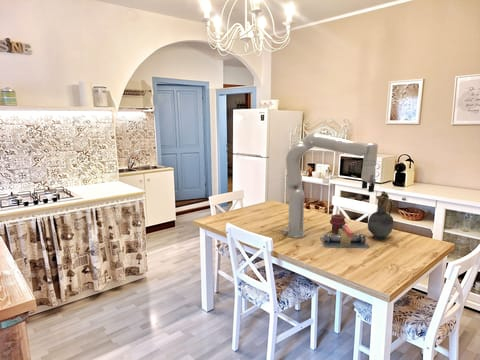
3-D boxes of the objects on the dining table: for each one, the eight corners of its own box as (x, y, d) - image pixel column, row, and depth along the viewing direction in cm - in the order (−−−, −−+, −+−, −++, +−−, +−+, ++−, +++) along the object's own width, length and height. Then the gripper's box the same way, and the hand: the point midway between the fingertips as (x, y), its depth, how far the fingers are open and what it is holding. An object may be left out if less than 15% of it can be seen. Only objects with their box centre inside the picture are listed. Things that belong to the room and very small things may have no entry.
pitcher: (364, 237, 204) (367, 192, 199) (381, 231, 215) (385, 188, 209) (380, 243, 195) (384, 195, 190) (397, 236, 206) (401, 191, 200)
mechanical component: (344, 230, 217) (345, 235, 208) (328, 229, 219) (329, 234, 210) (345, 213, 215) (346, 217, 205) (329, 212, 217) (330, 216, 207)
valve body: (324, 247, 190) (325, 234, 188) (320, 238, 204) (320, 226, 202) (369, 248, 188) (370, 235, 187) (362, 239, 202) (363, 227, 200)
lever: (341, 229, 196) (341, 224, 195) (346, 229, 196) (347, 225, 195) (347, 237, 182) (348, 233, 182) (353, 237, 182) (353, 233, 181)
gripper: (358, 161, 206) (356, 187, 209) (369, 165, 189) (367, 193, 192) (369, 161, 206) (367, 187, 209) (382, 165, 189) (379, 193, 192)
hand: (367, 190), depth 201 cm, fingers open, 9 cm apart
